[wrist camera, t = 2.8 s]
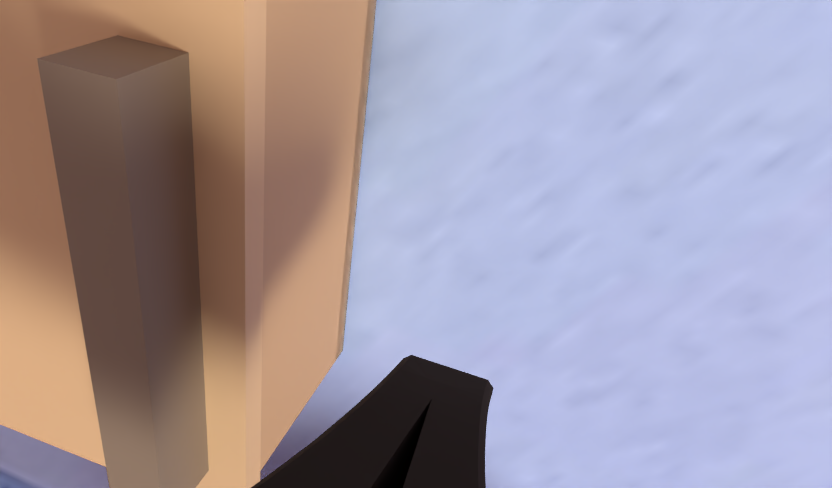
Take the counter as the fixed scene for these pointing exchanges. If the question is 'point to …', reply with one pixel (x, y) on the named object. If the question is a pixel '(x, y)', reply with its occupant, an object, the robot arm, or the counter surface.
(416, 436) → the robot arm
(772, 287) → the counter surface
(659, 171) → the counter surface
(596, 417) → the counter surface
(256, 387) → the lid
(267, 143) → the mailer box
